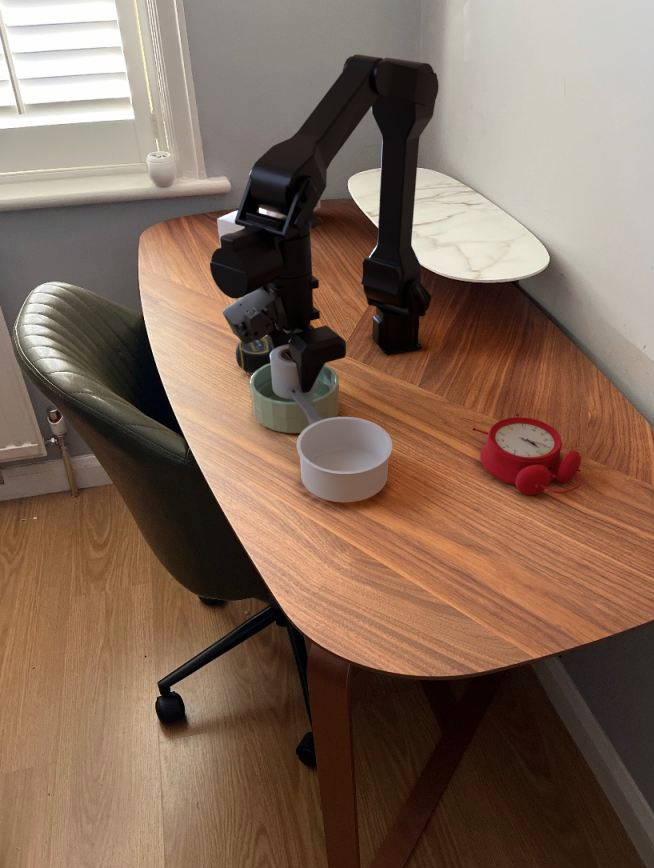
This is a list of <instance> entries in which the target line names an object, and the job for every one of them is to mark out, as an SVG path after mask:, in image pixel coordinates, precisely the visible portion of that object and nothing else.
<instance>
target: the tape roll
mask: <svg viewBox="0 0 654 868" xmlns="http://www.w3.org/2000/svg"><path fill="white" fill-rule="evenodd" d="M288 351H290V350H289V344H287V345H282V346H279V347H277V348H275V349H274V350H273V351H272V352H271V354H270V363H271V375H272V388H273V391H274V393H275V394H276V395H278V396H280V397H282V398H286V399H293V398H292V397H291V396H290V395H289V394H288V393H287V388H291V387H295V388H296V389H297V390H298V391H299V392H300V393H301V394H302V395H303V397H304V398H306V397H309V396H311V395H313V394H314V393H315V392H316V391H317V389H318V377H317V379H316V381H315V383H314V385H313V387H312V389H311V391H310V392H307V393H303V392H302V390H301V386H300V382H299V377H298V372H297V367H296V363H294V362H293V361H292V360H291V359H290V358H289V357H288V356H287V355H286V354H285V352H288Z"/></svg>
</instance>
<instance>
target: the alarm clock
mask: <svg viewBox="0 0 654 868" xmlns="http://www.w3.org/2000/svg"><path fill="white" fill-rule="evenodd" d="M472 431H473V432H475V431H476V432H479V433H480V434H483V435H486V436H487V439H486V443H485V444H484V445H483V446H482V448H481V450H480V455H479V460H480V464H481V466H482V467H483V469H484V470H485V471H486V472H487V473H488V474H489V475H490V476H492V477H494V478H495V479H497V480H499V481H501V482H503V483H505V484H510V485H513V486H515V487H516V489H517V491H518V492H519V493H521V494H522V495H526V496H536V495H538V494H541V493H543V492H544V491H548V492H550V493H553V494H566V493H569V492H572V491H574V490H577V489H578V488H579V487H581V486H582V484H583V480H582V477H581V476H580V475H579V473H581V472H582V470H581V469H580V466H581V462H582V457H581V454H580V453H579V452H578V451H577V450H575V449H571V450H570V451H568V453H567V454H566V455H565V456H564V457H563V458H562V457H561V451H562V447H563V442H562V437H561V435H560V433H559V432H558V431H557V430H556V428H554V427H553V426H551V425H550V424H548V423H546V422H544V421H541V420H539V419H534V418H531V417H524V416H520V413H518V412H517V413H515V416H514V417H507V418H504V419H501V420H499V421H497V422H495V423H494V424H493V425H492V426H491V427H490V429H489V431H488V432H487V431H484V430H481V429H477V428H476V427H473V428H472ZM575 476H576V477H577V478H578V479H579V483H578V484H577V485H576V486H573V487H572V488H569V489H565V490H553V489H550V488H548V486H549V484H550V483H551V482H552V481H554V480H557V481H558V482H559V483H563V484H565V483H569V482H571V481H572V480H573V479H574V478H575Z"/></svg>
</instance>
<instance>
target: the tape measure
mask: <svg viewBox="0 0 654 868" xmlns="http://www.w3.org/2000/svg"><path fill="white" fill-rule="evenodd" d="M272 351H273V349H272V346H271V344H270V341H269V339H268V336H267V335H266V336H265V337H263V338H261V339H260V340H255V341H253V342H251V343H249V344H244V343H242V342H241V341H239V343H238V344H237V346H236V348H235V359H236V363H237V365H238V367H239V368H240V369H241V370H242V371H244V372H246V373H249V374H254V373H255V372H256V370H258V369H260V368H261V367H263V366H264V365H267V364H269V363H270V354H271V352H272Z"/></svg>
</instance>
